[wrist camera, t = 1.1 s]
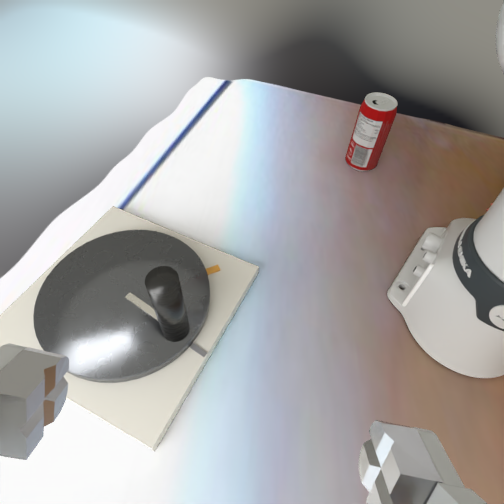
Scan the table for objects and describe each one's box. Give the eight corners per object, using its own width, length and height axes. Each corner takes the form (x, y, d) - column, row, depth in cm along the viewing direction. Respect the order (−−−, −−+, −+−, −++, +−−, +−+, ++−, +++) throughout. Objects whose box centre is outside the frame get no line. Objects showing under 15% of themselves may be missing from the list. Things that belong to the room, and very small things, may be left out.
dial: (1, 317, 42) (-63, 258, 33) (129, 215, 53) (106, 149, 44) (125, 423, 36) (88, 385, 27) (242, 283, 46) (244, 222, 37)
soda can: (374, 154, 67) (397, 91, 57) (377, 174, 63) (402, 110, 54) (344, 151, 67) (362, 88, 57) (345, 170, 63) (365, 107, 54)
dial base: (115, 213, 55) (112, 205, 54) (258, 273, 50) (258, 265, 48) (-20, 347, 42) (-29, 341, 40) (154, 451, 36) (151, 448, 35)
